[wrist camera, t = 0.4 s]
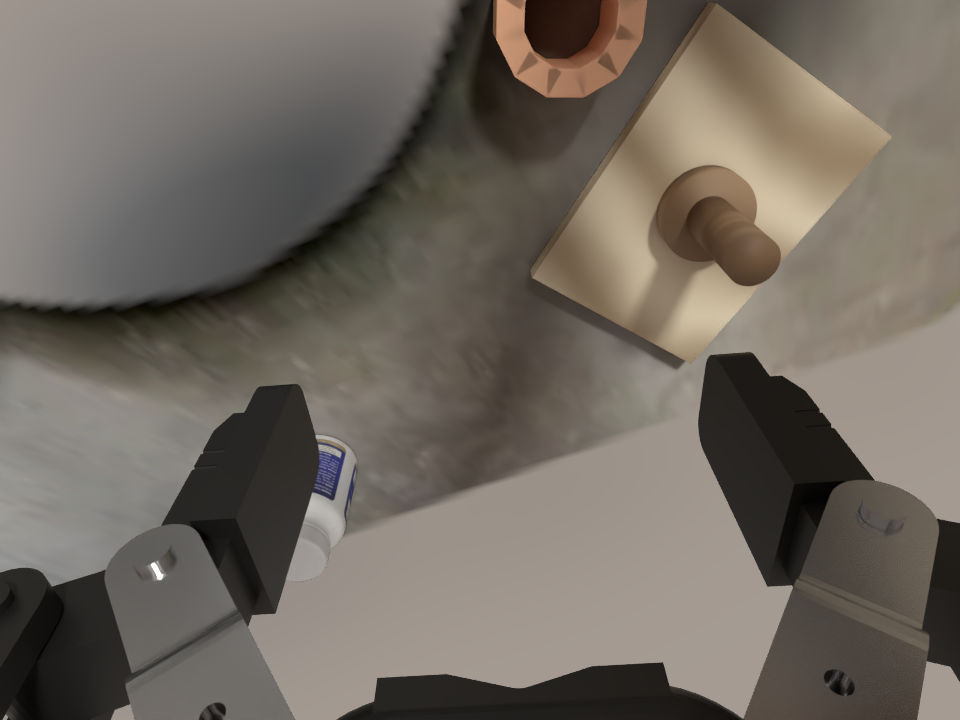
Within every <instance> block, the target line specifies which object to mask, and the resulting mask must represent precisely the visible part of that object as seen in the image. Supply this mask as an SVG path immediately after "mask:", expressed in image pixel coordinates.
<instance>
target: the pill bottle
mask: <svg viewBox="0 0 960 720" xmlns="http://www.w3.org/2000/svg"><path fill="white" fill-rule="evenodd" d="M315 436H316V439H317V443H318V448H319V471H318V476H317V479H316V482H315V485H314V489H313V492H312V495H311V499H310V502H309V505H308V508H307V512H306V515H305V518H304V521H303V525H302V528H301V531H300V535H299V538H298V541H297V544H296V548H295V551H294V554H293V557H292V561H291V564H290V567H289V571H288V574H287V577H286V581H292V582H303V581H308V580H312V579H314V578H316V577H318V576H319V575H320V574H322V572H323V571H324V570H325V568H326V565H327V562H328V558H329V555H330V550H331V549H332V548H333V547H335V546H336V545H337V544H338V543H339V541H340V540H341V538H342V536H343V534H344V531H345V528H346V523H347V518H348V513H349V508H350V503H351V499H352V494H353V489H354V485H355V480H356V476H357V470H358V464H357V460H356V457H355V455H354V453H353V451H352V450H351V449H350V448H349V447H348V446H347V445H346V444H344V443H343V442H341V441H340V440H337V439H335V438H333V437H329V436H324V435H315Z"/></svg>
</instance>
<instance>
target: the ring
mask: <svg viewBox="0 0 960 720" xmlns="http://www.w3.org/2000/svg"><path fill="white" fill-rule="evenodd" d="M525 2H526V0H493V34H494V36H495V38H496V40H497V42H498V44H499V46H500V48H501V50H502V52H503V54H504V56H505V58H506V60H507V62H508V64H509V66H510V68H511V70H512V72H513V74H514V76H515V77H516V78H517V79H519V80H520V81H522V82H523V83H525V84H527V85H528V86H530V87H531V88H533V89H534V90H536V91H537V92H539V93H541V94H542V95H544V96H545V97H586V96H588V95H589V94H591V93H593V92H594V91H596V90H598V89H599V88H601V87H603V86H604V85H606V84H608V83H610V82H611V81H613V80H615V79H616V78H618V77H619V76H620V74H621V73H622V71H623V70H624V68H625V67H626V65H627V63H628V62H629V60H630V59H631V57H632V56H633V54H634V52H635V51H636V49H637V48H638V46H639V45H640V43H641V41H642V39H643V31H644V23H645V15H646V7H647V0H601V10H600V21H599V27H598V28H597V30H596V32H595V33H594V35H593V37H592V38H591V40H590V42H589V43H588V45H587V47H585V48H584V49H582V50H580V51H579V52H577V53H576V54H574V55H572V56H571V57H569V58H567V59H545V58H544V57H542V56H541V55H539V54H538V53H536V52H535V51H533V49H532V47H531V45H530V43H529V41H528V39H527V37H526V34H525V32H524V20H525Z"/></svg>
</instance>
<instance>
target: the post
mask: <svg viewBox="0 0 960 720" xmlns="http://www.w3.org/2000/svg"><path fill="white" fill-rule="evenodd" d="M756 214H757V201H756V197H755V194H754V191H753V189H752V188H751V186H750V185H749V184H748V183H747V182H746V181H745V180H744V179H743V178H742V177H740V176H739V175H737V174H736V173H735V172H733V171H732V170H730V169H728V168H725V167H722V166H718V165H704V166H699V167H696V168H693V169H691V170H688V171H686V172H685V173H683V174H681V175H680V176H679V177H677V178H676V179H675V180H674V181H673V182H672V183H671V184H670V185H669V186H668V188H667V189H666V190H665V192H664V193H663V195H662V197H661V199H660V202H659V205H658V209H657V216H656V220H657V227H658V230H659V233H660V235H661V237H662V238H663V240H664V241H665V242H666V244H667V245H668V246H669V248H670V249H671V250H672V251H673V252H674V253H675V254H676V255H678V256H679V257H681V258H683V259H686V260H689V261H694V262H707V261H712V260H714V261H715V262H716V263H717V264H718V265H719V266H720V267H721V269H722V270H723V271H724V272H725V273H726V274H727V275H728V277H729V278H730V279H731V280H732V281H733V282H734V283H736V284H738V285H741V286H755V285H758V284H760V283H763V282H764V281H766V280H767V279H769V278H770V277H771V276H772V275H773V274H774V273H775V271H776V270H777V268H778V266H779V264H780V260H781V252H780V248H779V246H778V245H777V244H776V242H775V241H773V240H772V239H771V238H770V237H769V236H767V235H766V234H765V233H764V232H763V231H762V230H760V229H759V228H758V227H757V226H756V225H755V224H754V222H755V219H756Z"/></svg>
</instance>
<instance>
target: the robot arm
mask: <svg viewBox="0 0 960 720" xmlns="http://www.w3.org/2000/svg"><path fill="white" fill-rule="evenodd" d="M698 426H699V427H698V428H699V436H700V442H701V445H702V448H703V451H704V453H705V455H706V457H707V459H708V461H709V464H710V466H711V468H712V470H713V472H714V474H715V476H716V478H717V481H718V482H719V485H720V487H721V489H722V491H723V493H724V495H725V498H726V499H727V502H728V504H729V506H730V508H731V510H732V512H733V514H734V517H735V519H736V521H737V523H738V525H739V527H740V529H741V531H742V533H743V535H744V538H745V540H746V542H747V544H748V546H749V548H750V550H751V553H752V555H753V557H754V559H755V561H756V563H757V565H758V567H759V570H760V572H761V574H762V576H763V578H764V580H765V582H766V584H767V586H768V587H769V586H786V585H792V586H793V589H792V592H791V594H790V597H789V600H788V603H787V605H786V608H785V610H784V613H783V616H782V618H781V621H780V623H779V626H778V629H777V631H776V634H775V637H774V639H773V642H772V645H771V648H770V650H769V653H768V655H767V658H766V661H765V663H764V666H763V668H762V671H761V674H760V676H759V679H758V682H757V684H756V687H755V690H754V692H753V695H752V698H751V700H750V703H749V706H748V708H747V711H746V714H745V716H744V719H742V718H741V717H739V716H738V715H736V714H735V713H734V712H732V711H730V710H729V709H727V708H725V707H723V706H722V705H720V704H718V703H716V702H714V701H712V700H710V699H708V698H705V697H703V696H701V695H699V694H696V693H693V692H690V691H687V690H684V689H681V688H676V687H672V686H669V683H668V679H667V676H666V672H665V668H664V665H663V663H645V664H627V665H609V666H592V667H589V668H586V669H582V670H580V671H576V672H573V673H570V674H567V675H564V676H561V677H558V678H555V679H552V680H549V681H545V682H542V683H539V684H536V685H533V686H530V687H526V688H519V689H517V688H510V687H505V686H501V685H496V684H491V683H486V682H481V681H476V680H471V679H467V678H462V677H457V676H452V675H447V674H444V675H425V676H407V677H391V678H390V677H388V678H377V686H376V692H375V700H374V702H372V703H369V704H366V705H364V706H361V707H359V708H357V709H355V710H353V711H351V712H348V713H347V714H345V715H343V716H342V717H340V718H338V719H337V720H917V716H918V710H919V704H920V698H921V692H922V686H923V680H924V674H925V668H926V662H927V661H929V662H933V663H937V664H941V665H946V666H950V667H951V668H952V670H953V671H954V673H955V675H956V676H957V678H958V680H959V681H960V523H956V522H950V521H945V520H940V519H936V517H935V516H934V514H933V513H932V511H931V510H930V509H929V508H928V507H927V506H926V505H925V504H924V503H923V502H922V501H921V500H919V499H918V498H916V497H915V496H913V495H912V494H910V493H908V492H907V491H904V490H902V489H900V488H898V487H895V486H892V485H890V484H886V483H882V482H878V481H875V480H874V479H873V477H872V476H871V475H870V474H869V472H868V471H867V470H866V469H865V467H864V466H863V465H862V463H861V462H860V461H859V460H858V458H857V457H856V456H855V454H854V453H853V452H852V450H851V449H850V448H849V447H848V445H847V444H846V443H845V442H844V440H843V439H842V438H841V437H840V435H839V434H838V432H837V431H836V430H835V429H834V428H831V423H830V422H829V421H828V419H827V418H826V417H825V416H824V415H823V413H820V412H819V408H818V407H817V405H816V404H815V403H814V401H813V400H812V399H811V398H810V396H809V395H808V394H807V393H806V391H805V390H803V389H802V388H800V387H798V386H797V385H795V384H794V383H792V382H791V381H789V380H788V379H786V378H785V377H783V376H771V377H770V376H769V375H768V373H767V372H766V370H765V369H764V368H763V366H762V365H761V363H760V362H759V361H758V359H757V358H756V356H755V355H754V354H753V353H751V352H746V353H732V354H718V355H710V356H709V358H708V359H707V362H706V368H705V375H704V382H703V389H702V397H701V404H700V411H699V420H698ZM194 467H195V469H194V470H192V471H191V473H190V475H189V477H188V478H187V480H186V482H185V484H184V486H183V487H182V489H181V491H180V493H179V494H178V496H177V498H176V500H175V502H174V503H173V505H172V507H171V509H170V511H169V512H168V514H167V516H166V518H165V520H164V521H163V523H162V525H161V526H159V527H156V528H153V529H150V530H148V531H146V532H143V533H142V534H140V535H138V536H136V537H135V538H133V539H132V540H130V541H129V542H127V543H126V544H125V545H124V546H123V547H121V548H120V549H119V550H118V552H117V553H116V554H115V555H114V556H113V558H112V559H111V560H110V562H109V564H108V566H107V568H106V570H104V571H101V572H98V573H95V574H92V575H88V576H85V577H82V578H79V579H75V580H72V581H69V582H66V583H63V584H59V585H56V586H53V587H52V586H51V585H50V583H49V582H48V580H47V579H46V577H45V576H44V575H43V573H41V572H40V571H38V570H36V569H32V568H17V569H11V570H8V571H4V572H1V573H0V720H2V719H3V718H4V716H5V714H6V715H7V716H8V719H7V720H111V717H112V715H113V713H114V710H115V709H118V708H121V707H124V706H126V705H129V704H130V705H131V708H132V712H133V715H134V719H135V720H295V718H294V716H293V715H292V712H291V711H290V709H289V707H288V705H287V703H286V701H285V699H284V697H283V695H282V693H281V691H280V689H279V687H278V685H277V683H276V681H275V679H274V677H273V675H272V674H271V671H270V670H269V668H268V666H267V664H266V662H265V660H264V658H263V656H262V654H261V652H260V650H259V648H258V646H257V644H256V642H255V640H254V638H253V636H252V634H251V632H250V631H249V629H248V625H249V622H250V620H251V616H252V615H258V614H275V613H276V610H277V606H278V603H279V600H280V597H281V593H282V590H283V587H284V583H285V580H286V577H287V574H288V571H289V567H290V564H291V561H292V557H293V554H294V551H295V548H296V544H297V541H298V538H299V535H300V531H301V528H302V525H303V521H304V518H305V515H306V512H307V508H308V505H309V502H310V499H311V495H312V492H313V489H314V485H315V482H316V479H317V476H318V471H319V448H318V443H317V439H316V436H315V432H314V429H313V425H312V422H311V418H310V415H309V412H308V408H307V405H306V401H305V398H304V394H303V391H302V389H301V387H300V386H299V385H298V384H289V385H275V386H262V387H258V388H257V389H256V391H255V393H254V395H253V397H252V399H251V401H250V403H249V405H248V407H247V409H246V411H245V412H244V413H234V414H232V415H231V416H230V417H229V418H228V419H227V420H226V421H225V422H223V423H222V424H221V425H220V426H219V427H218V428H217V429H216V430H214V432H213V433H212V435H211V437H210V439H209V441H208V442H207V444H206V446H205V448H204V450H203V454H201V455H200V457H199V459H198V460H197V462H196V464H195V466H194Z"/></svg>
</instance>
